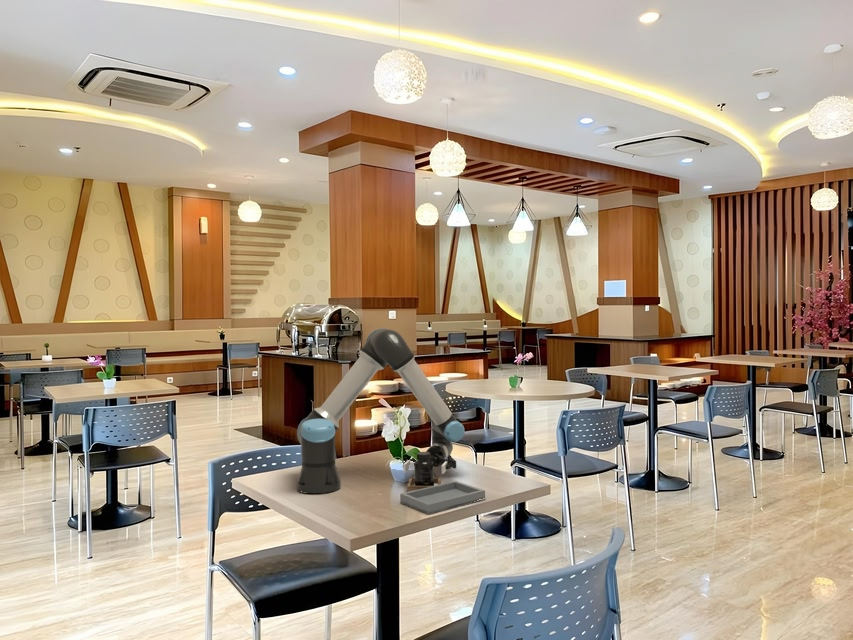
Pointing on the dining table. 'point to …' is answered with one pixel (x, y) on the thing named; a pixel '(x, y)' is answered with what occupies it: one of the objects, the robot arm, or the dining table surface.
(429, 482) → the supplement bottle
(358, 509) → the dining table surface
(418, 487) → the square wooden tray
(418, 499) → the parts tray
